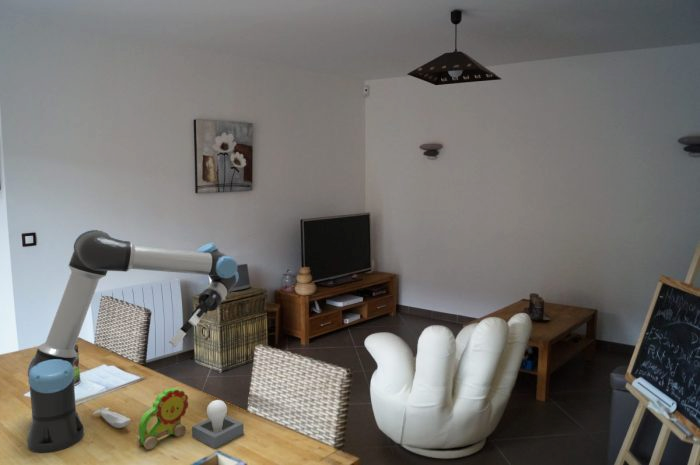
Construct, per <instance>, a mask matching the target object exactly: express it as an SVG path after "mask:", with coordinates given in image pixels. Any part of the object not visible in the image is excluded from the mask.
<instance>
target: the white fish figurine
mask: <svg viewBox="0 0 700 465" xmlns="http://www.w3.org/2000/svg"><path fill="white" fill-rule="evenodd" d="M92 414H93V415H101V416H102V418H103V419H104V420H105V421H106V422H107V423H108V424H109V425H110V426H112V427H114V428H117V429H121V428H125V427H128V425H129V424H131V420H132V419H131V418H129V417H126V416H125V415H123V414H120V413H118V412H115V411H111V410H110V407H103V408H99V409H97V410H95V411H94V412H93V413H92Z"/></svg>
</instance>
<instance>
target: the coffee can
mask: <svg viewBox="0 0 700 465" xmlns="http://www.w3.org/2000/svg"><path fill="white" fill-rule="evenodd" d="M74 350H75V351H76V353H77V356H76V359H75V362H74V364H73V371H74V387H75V385H76V386H77V385H79V384H80V383H81V371H80V357H79V355H80V354H79V345H77V344H75V347H74Z"/></svg>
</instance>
